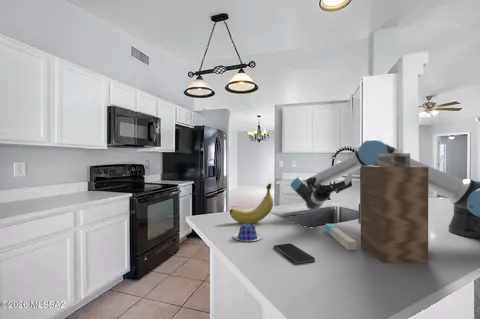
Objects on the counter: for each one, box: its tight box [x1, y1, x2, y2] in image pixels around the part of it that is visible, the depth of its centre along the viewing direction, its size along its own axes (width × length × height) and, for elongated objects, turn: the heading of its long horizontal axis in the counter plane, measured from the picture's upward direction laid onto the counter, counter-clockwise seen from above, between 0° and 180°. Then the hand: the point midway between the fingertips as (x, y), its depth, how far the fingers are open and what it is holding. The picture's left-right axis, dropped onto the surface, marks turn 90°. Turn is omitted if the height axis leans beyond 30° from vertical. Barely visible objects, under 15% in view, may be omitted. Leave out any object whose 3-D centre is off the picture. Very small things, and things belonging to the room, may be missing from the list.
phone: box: [273, 243, 316, 266], centre depth 79 cm, size 8×1×15 cm
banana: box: [229, 183, 274, 224], centre depth 119 cm, size 23×6×20 cm, turn 101°
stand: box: [360, 152, 429, 264], centre depth 80 cm, size 14×14×34 cm
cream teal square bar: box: [324, 223, 357, 251], centre depth 94 cm, size 3×22×3 cm, turn 179°
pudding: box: [232, 223, 263, 242], centre depth 96 cm, size 12×12×5 cm
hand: (335, 175), depth 98 cm, fingers open, 13 cm apart
